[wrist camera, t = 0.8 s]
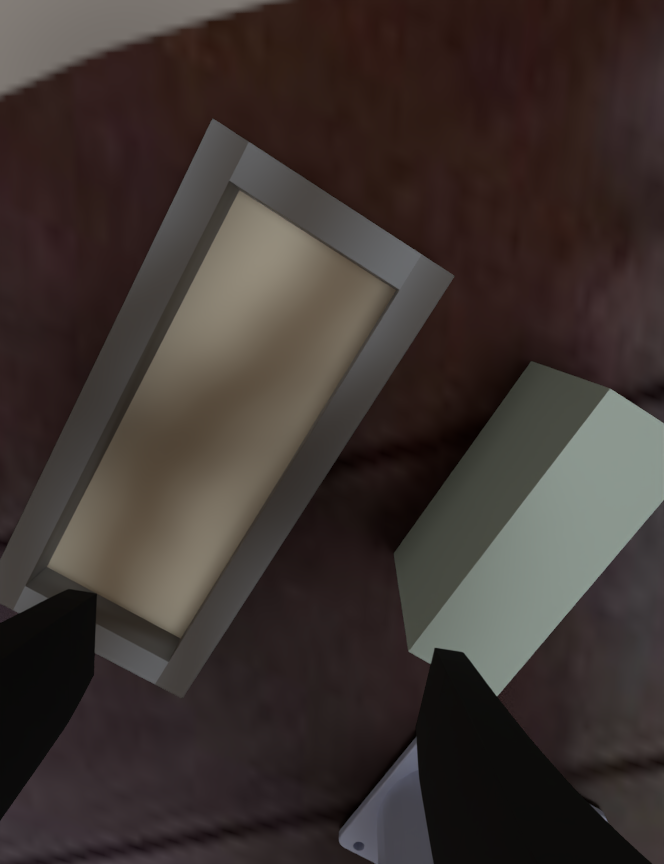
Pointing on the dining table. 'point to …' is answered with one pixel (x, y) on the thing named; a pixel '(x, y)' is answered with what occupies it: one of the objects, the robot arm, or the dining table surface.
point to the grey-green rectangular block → (528, 521)
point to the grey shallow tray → (216, 407)
